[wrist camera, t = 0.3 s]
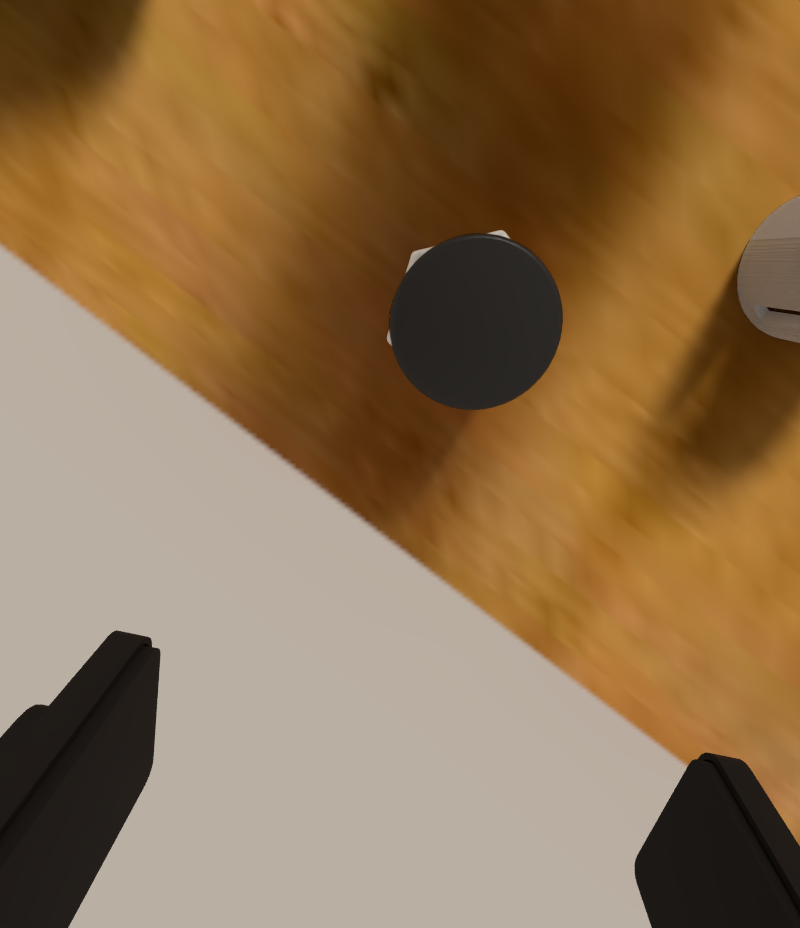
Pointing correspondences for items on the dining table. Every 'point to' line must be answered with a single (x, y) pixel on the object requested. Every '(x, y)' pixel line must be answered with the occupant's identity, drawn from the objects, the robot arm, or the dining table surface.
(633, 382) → the dining table surface
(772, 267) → the cup
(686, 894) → the robot arm
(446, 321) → the jar
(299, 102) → the dining table surface
